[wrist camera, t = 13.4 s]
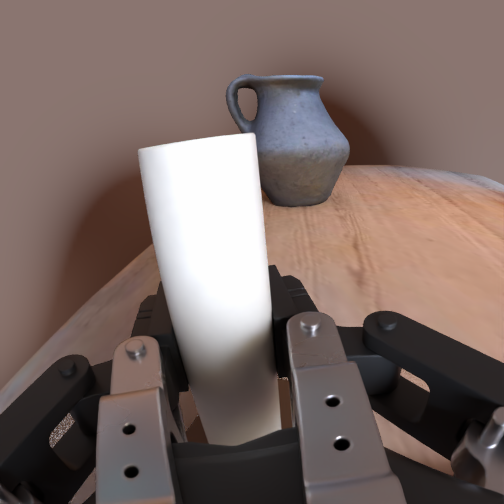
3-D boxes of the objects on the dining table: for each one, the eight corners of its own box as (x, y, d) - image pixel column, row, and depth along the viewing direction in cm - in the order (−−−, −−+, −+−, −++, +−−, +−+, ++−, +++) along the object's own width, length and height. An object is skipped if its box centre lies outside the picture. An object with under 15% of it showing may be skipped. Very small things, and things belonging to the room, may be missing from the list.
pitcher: (366, 210, 52) (357, 61, 42) (235, 222, 53) (218, 67, 43) (336, 187, 71) (328, 77, 62) (240, 195, 72) (227, 83, 62)
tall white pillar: (277, 569, 8) (202, 138, 3) (161, 525, 10) (-15, 190, 5) (332, 427, 15) (336, 127, 10) (238, 409, 17) (194, 139, 12)
